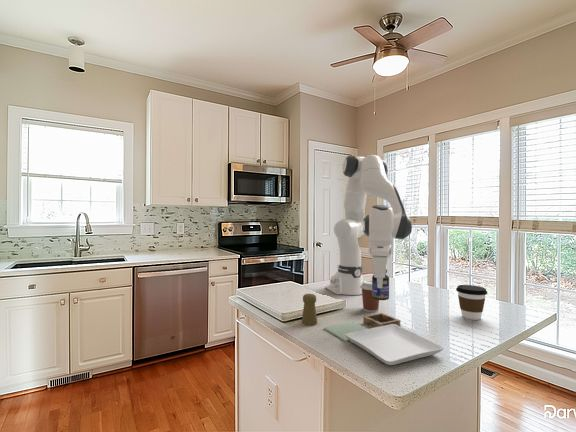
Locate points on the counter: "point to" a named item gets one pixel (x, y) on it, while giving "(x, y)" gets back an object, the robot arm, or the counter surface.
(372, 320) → the walnut collar
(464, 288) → the coffee cup
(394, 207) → the robot arm
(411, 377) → the counter surface
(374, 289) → the pill bottle
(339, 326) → the sage mat
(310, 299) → the cork
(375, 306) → the coffee cup
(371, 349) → the salad plate
